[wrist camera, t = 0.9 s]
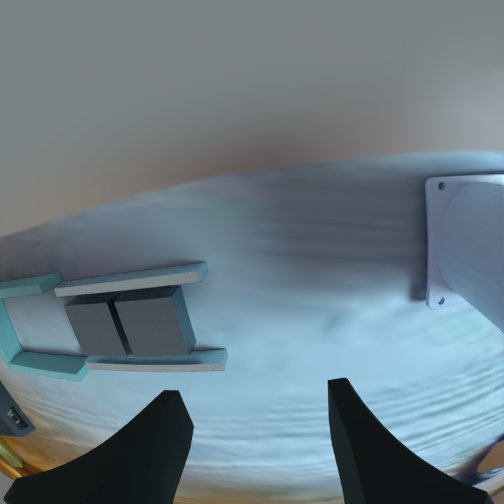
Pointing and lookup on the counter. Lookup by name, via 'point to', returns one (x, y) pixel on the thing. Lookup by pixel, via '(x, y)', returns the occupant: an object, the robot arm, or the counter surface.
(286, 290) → the counter surface
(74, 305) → the block
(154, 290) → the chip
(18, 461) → the saucer
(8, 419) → the external hard drive
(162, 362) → the slot guide
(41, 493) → the robot arm
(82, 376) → the tray
